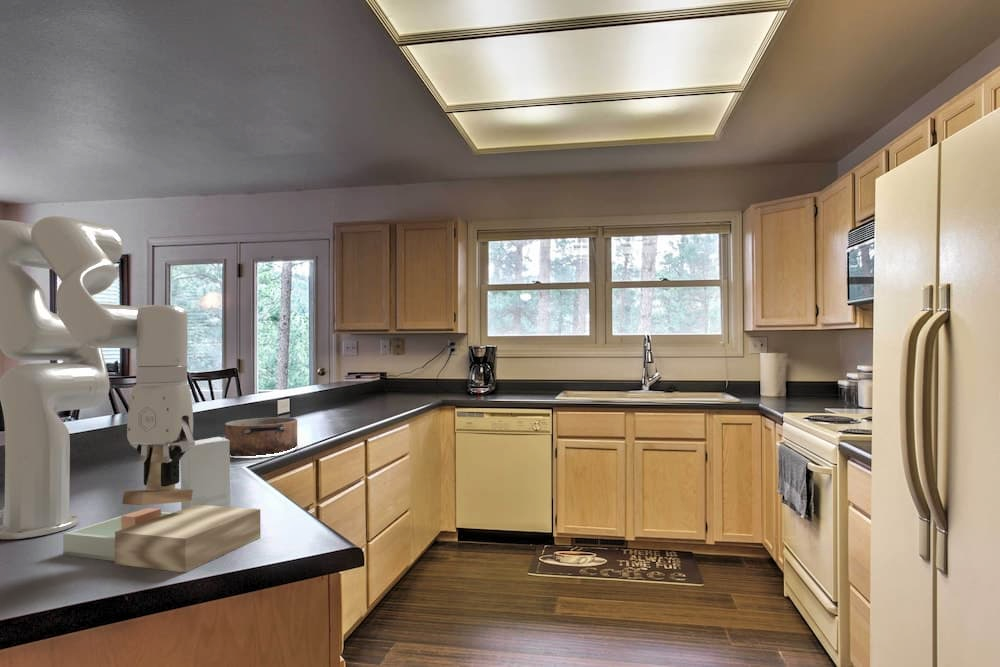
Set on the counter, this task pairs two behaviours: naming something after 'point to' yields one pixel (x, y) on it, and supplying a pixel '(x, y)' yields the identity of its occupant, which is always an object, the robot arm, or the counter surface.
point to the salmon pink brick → (139, 517)
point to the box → (94, 540)
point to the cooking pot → (261, 436)
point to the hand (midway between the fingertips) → (161, 483)
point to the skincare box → (207, 473)
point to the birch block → (186, 537)
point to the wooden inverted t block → (157, 486)
